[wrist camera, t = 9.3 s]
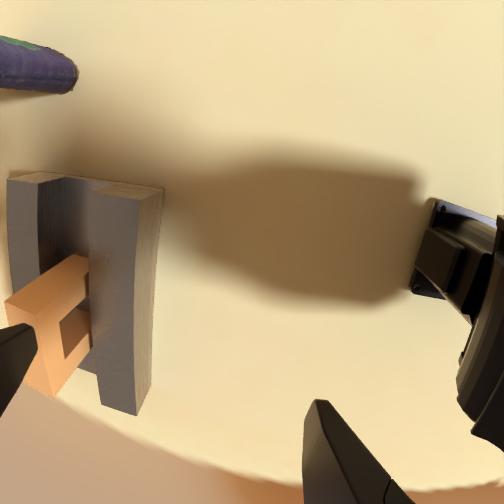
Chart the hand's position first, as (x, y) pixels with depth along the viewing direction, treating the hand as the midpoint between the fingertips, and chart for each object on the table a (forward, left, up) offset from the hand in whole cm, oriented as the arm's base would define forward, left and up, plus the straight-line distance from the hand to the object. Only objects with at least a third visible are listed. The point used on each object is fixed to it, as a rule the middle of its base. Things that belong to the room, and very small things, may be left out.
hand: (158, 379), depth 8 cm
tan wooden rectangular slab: (+9, +5, -11) cm, 15 cm away
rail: (+9, +5, -12) cm, 16 cm away
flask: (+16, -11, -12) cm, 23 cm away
